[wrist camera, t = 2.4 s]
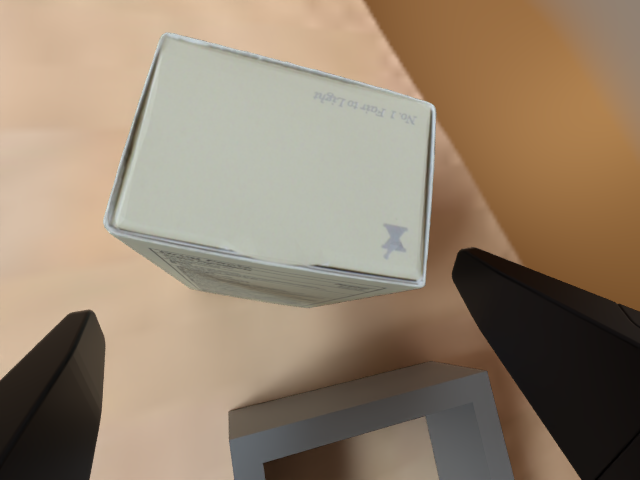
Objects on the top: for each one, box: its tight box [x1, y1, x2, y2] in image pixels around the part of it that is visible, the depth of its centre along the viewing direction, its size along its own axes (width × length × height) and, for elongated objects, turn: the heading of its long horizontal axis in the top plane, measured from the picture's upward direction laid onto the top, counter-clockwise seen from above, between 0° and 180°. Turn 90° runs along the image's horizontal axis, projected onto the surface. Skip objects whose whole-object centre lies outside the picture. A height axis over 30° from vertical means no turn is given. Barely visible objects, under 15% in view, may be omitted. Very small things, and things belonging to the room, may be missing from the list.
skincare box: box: [103, 33, 436, 308], centre depth 13 cm, size 6×4×12 cm
